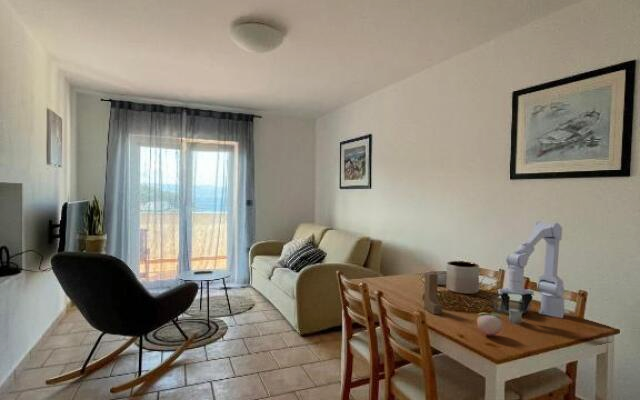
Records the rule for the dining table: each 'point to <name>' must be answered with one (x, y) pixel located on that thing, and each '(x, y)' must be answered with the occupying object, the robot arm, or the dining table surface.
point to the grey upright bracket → (431, 294)
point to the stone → (515, 316)
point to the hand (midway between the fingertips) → (515, 310)
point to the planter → (462, 277)
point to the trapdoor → (517, 298)
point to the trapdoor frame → (502, 309)
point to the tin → (441, 277)
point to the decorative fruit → (489, 323)
